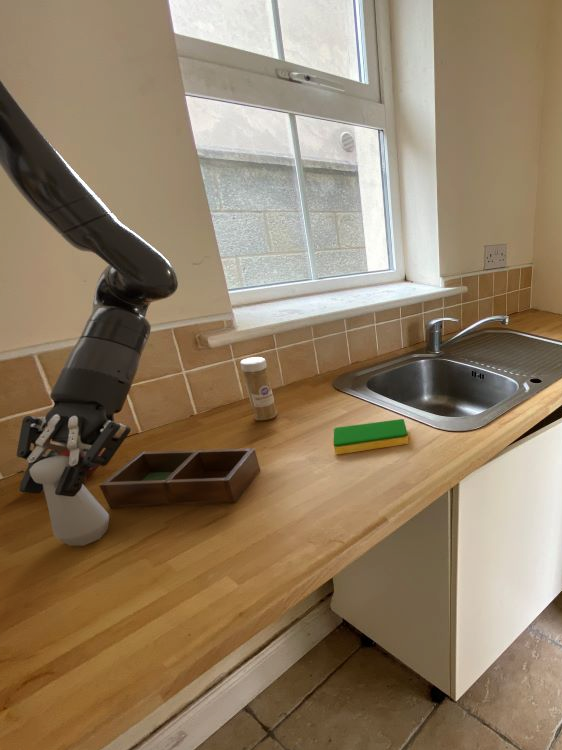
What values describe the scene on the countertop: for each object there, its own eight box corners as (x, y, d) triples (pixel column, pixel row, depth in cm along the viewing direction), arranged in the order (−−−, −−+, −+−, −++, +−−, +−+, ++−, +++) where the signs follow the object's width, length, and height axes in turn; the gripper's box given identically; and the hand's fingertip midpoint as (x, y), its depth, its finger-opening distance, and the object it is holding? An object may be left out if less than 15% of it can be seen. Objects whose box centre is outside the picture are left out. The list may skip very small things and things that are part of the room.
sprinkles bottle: (266, 423, 97) (251, 365, 91) (249, 419, 98) (234, 361, 92) (282, 414, 101) (269, 357, 95) (266, 410, 102) (252, 354, 96)
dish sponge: (408, 444, 91) (407, 434, 90) (335, 455, 86) (333, 444, 85) (404, 428, 97) (403, 418, 96) (335, 437, 92) (333, 427, 91)
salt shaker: (69, 529, 66) (30, 454, 60) (119, 518, 68) (85, 445, 63) (53, 556, 61) (9, 477, 56) (107, 543, 64) (70, 467, 58)
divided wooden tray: (109, 509, 70) (98, 485, 68) (149, 473, 79) (140, 451, 77) (235, 503, 73) (228, 480, 71) (260, 469, 81) (254, 448, 79)
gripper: (24, 362, 62) (-38, 486, 56) (122, 368, 61) (70, 494, 55) (77, 382, 69) (27, 494, 63) (166, 388, 68) (123, 501, 62)
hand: (47, 493), depth 59 cm, fingers closed on salt shaker, 4 cm apart
